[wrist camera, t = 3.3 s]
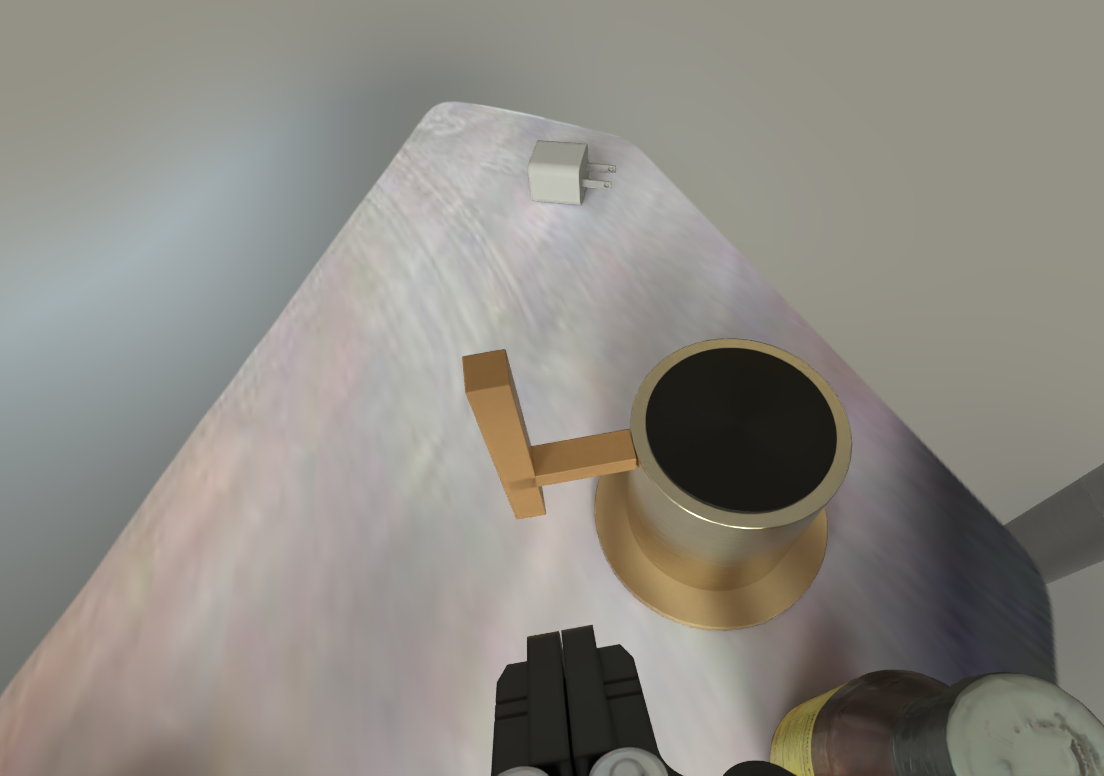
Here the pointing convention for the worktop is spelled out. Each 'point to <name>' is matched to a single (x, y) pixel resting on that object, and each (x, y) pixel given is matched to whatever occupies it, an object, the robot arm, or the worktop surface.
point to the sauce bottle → (941, 729)
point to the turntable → (699, 604)
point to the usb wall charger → (563, 172)
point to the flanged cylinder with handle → (691, 456)
